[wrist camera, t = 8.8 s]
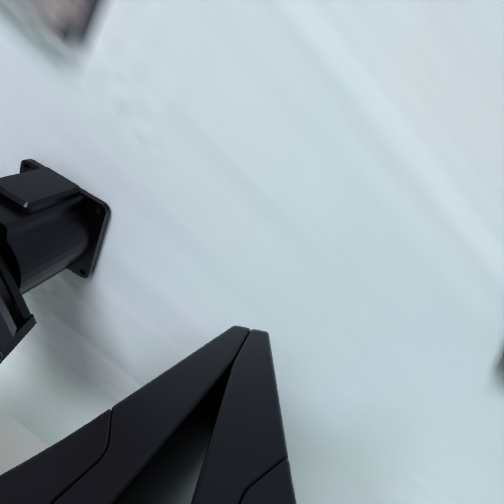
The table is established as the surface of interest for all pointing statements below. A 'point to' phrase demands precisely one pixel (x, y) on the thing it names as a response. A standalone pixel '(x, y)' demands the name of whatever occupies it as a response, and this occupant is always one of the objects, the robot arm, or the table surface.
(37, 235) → the robot arm
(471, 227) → the table surface
